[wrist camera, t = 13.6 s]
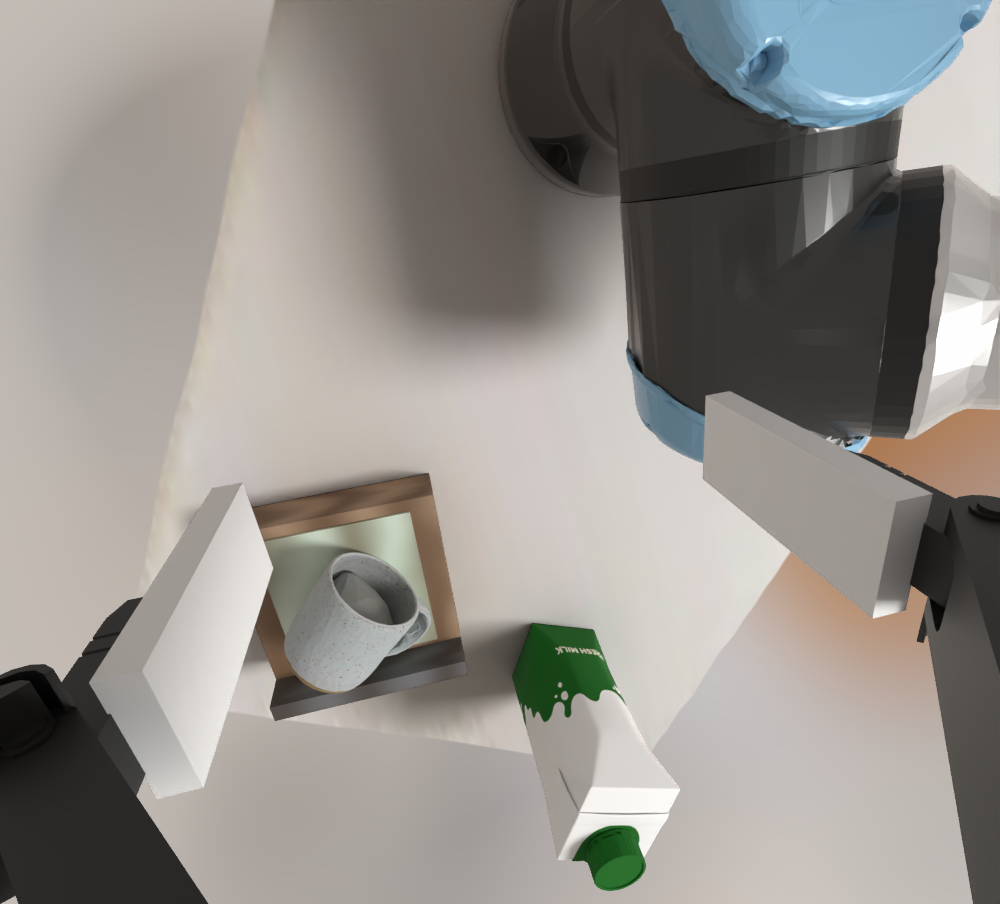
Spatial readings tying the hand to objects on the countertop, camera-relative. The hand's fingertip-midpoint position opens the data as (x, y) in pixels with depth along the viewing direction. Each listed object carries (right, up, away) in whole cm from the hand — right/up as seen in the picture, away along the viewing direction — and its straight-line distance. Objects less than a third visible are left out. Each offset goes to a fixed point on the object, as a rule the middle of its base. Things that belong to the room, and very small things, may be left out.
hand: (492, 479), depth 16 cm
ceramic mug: (-11, -11, +30) cm, 34 cm away
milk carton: (+6, -20, +42) cm, 47 cm away
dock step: (-13, -10, +33) cm, 37 cm away
